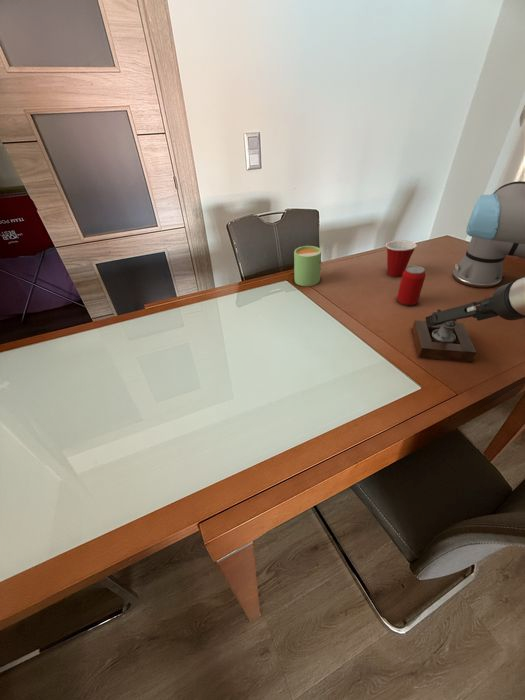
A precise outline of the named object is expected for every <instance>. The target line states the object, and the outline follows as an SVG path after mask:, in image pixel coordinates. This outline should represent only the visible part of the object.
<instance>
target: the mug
mask: <svg viewBox="0 0 525 700" xmlns="http://www.w3.org/2000/svg"><path fill="white" fill-rule="evenodd" d="M293 261H294V262H293V263H294V265H293V269H294V270H293V274H294V275H293V276H294V283H295V284H296V285H297V286H302V287H313V286H316V285H317V284H319V283H320V282H321V270H322V268H321V266H322V261H323V260H322V249H321V248H320V247H318V246H314V245H303V246H299V247H296V248H295V249H294V252H293Z"/></svg>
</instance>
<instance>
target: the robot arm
mask: <svg viewBox="0 0 525 700" xmlns="http://www.w3.org/2000/svg"><path fill="white" fill-rule="evenodd" d="M519 126H520V128H519V131H518V134H517V136H516V138H515V140H514V142H513V145H512V148H511V150H510V152H509V154H508V157H507V159H506V162H505V163H504V166H503V168H502V171H501V173H500V176H499V178H498V180H497V183H496V185H495V187H494V189H493V192H492V193H491V194H482V195H480V196H479V197H478V198H477V200H476V201H475V203H474V206H473V209H472V211H471V213H470V217H469V219H468V222H467V225H466V231H465V232H466V234H467V236H469V237H471V238H470V240H469V243H468V246H467V249H466V252H465V254H464V256H463V258H462V259H461V260H460V261H459V262H458V263H455V265H454V269H453V271H452V274H451V276H452V278H453V280H454V281H456V282H457V283H459V284H461V285H464V286H466V287H472V288H477V289H478V288H479V289H491V288H494V287H496V286H498V285H500V284H501V281H502V280H504V279H505V278H506V276H505V275H503V266H504V260H505V258H506V256H510V257H511V256H512V257H516V258H517V257H518V258H524V259H525V105H523V108H522V110H521V113H520V116H519ZM496 317H500V318H502V319H503V320H506V321H517V320H522V319H525V276H523V277H521V278H519V279H517V280H513V281H511V282H508V283H506V284H503V285H501V286H499V287H497V289H496V290H495V291H494V292H493V294H492V296H490V297H487V298H484V299H482V300H478V301H472V302H470V303H467V304H466V303H465V304H464V305H460V306H456V307H452V308H447V309H443V310H442V309H440V308H439V309H437V310H436V311H434V312H432V313H431V314H430V315H428V316H426V317H425V321H426V323H427V328H428V327H433V326H436V325H440V324H443V323H446V322H448V321H453V320H456V321H457V320H462V319H467V318H474V319H476V321H477V322H478V321H483V320H487V319H491V318H496Z"/></svg>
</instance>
